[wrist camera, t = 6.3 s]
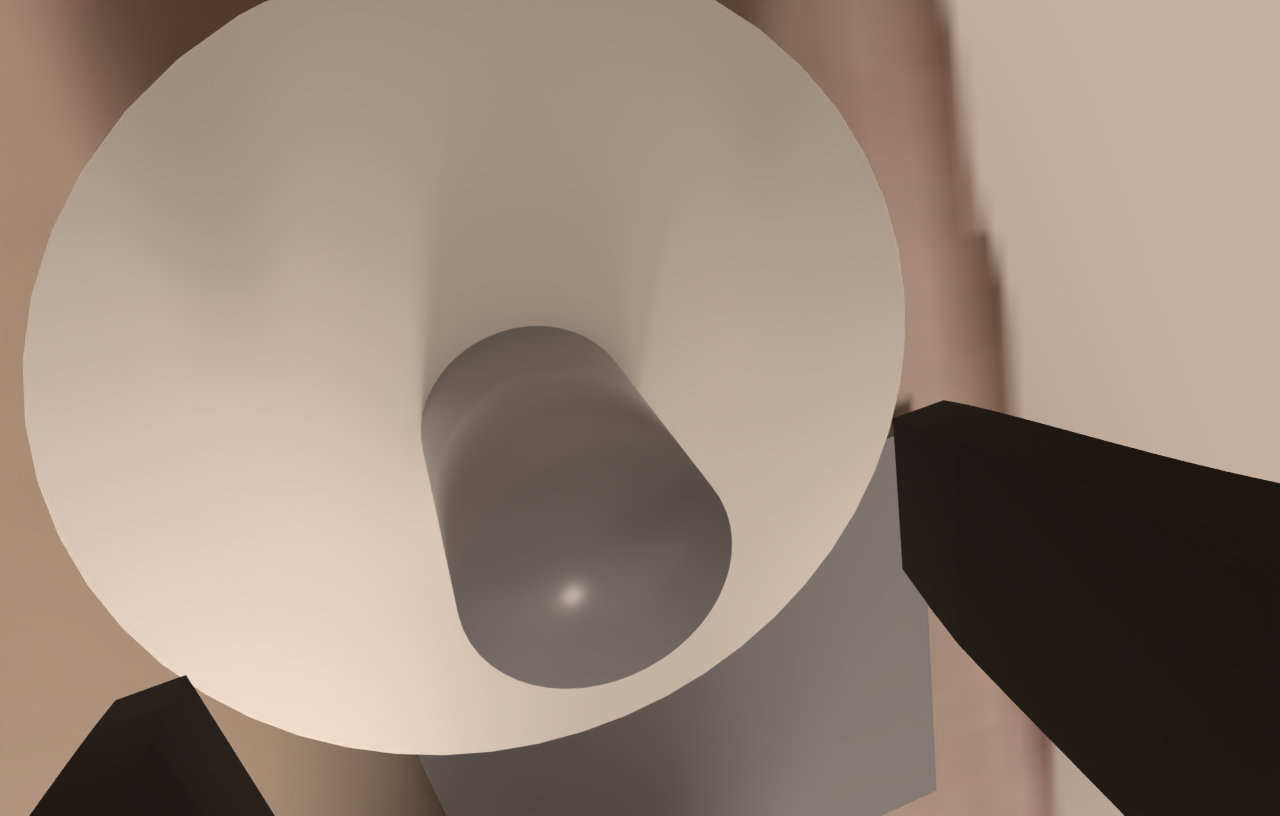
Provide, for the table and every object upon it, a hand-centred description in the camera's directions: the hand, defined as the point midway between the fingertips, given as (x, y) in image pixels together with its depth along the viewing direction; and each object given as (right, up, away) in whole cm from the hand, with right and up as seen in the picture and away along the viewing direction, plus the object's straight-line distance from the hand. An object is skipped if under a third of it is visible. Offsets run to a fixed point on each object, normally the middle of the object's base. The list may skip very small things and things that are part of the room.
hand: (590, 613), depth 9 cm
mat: (+2, -6, +15) cm, 17 cm away
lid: (-1, +2, +4) cm, 5 cm away
